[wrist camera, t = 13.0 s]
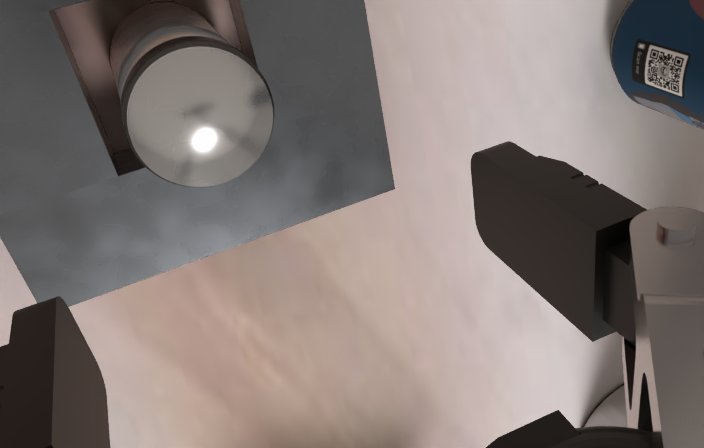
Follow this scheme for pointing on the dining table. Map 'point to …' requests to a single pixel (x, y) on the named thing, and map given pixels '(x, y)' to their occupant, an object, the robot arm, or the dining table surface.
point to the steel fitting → (188, 97)
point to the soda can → (662, 56)
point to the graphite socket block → (158, 194)
